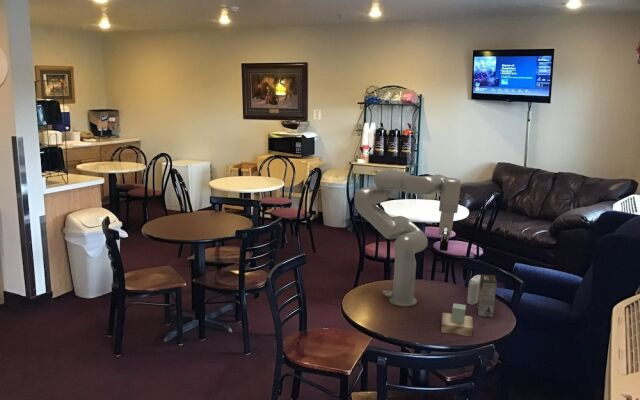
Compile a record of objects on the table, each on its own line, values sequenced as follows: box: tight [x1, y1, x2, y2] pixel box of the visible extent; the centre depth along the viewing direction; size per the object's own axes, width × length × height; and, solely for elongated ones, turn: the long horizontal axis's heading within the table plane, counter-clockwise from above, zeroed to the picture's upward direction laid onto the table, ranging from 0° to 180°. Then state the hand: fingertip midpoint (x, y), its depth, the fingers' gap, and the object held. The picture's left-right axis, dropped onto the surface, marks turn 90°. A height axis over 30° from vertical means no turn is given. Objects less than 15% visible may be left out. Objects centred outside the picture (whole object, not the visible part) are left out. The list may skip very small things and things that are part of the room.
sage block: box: [451, 303, 467, 324], centre depth 225 cm, size 5×5×6 cm
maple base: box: [440, 312, 474, 337], centre depth 227 cm, size 12×12×4 cm
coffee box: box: [476, 274, 498, 318], centre depth 243 cm, size 9×6×16 cm
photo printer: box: [466, 274, 481, 306], centre depth 255 cm, size 10×4×12 cm, turn 140°
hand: (443, 247), depth 235 cm, fingers open, 9 cm apart
